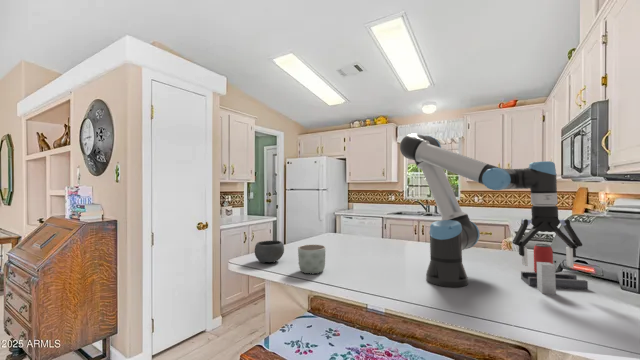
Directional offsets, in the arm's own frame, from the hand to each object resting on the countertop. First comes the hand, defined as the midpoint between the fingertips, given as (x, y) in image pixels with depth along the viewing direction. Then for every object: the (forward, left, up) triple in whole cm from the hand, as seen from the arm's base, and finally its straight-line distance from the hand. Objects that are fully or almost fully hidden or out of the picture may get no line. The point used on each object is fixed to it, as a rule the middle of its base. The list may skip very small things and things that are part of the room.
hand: (547, 265), depth 105 cm
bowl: (-114, +17, -10) cm, 116 cm away
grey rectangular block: (0, 0, -9) cm, 9 cm away
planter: (-88, +6, -10) cm, 89 cm away
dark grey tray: (+6, +10, -9) cm, 15 cm away
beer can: (+9, +25, -10) cm, 28 cm away
